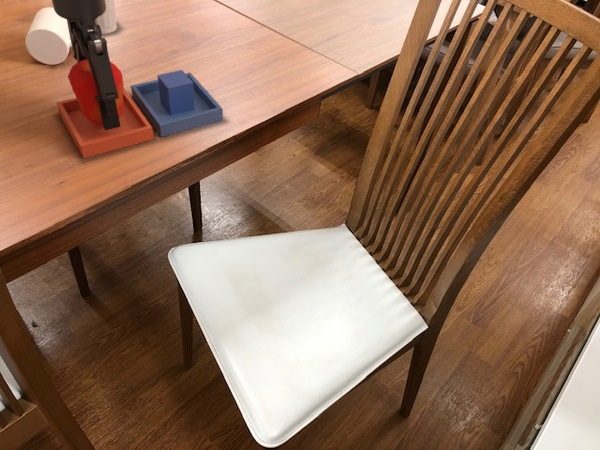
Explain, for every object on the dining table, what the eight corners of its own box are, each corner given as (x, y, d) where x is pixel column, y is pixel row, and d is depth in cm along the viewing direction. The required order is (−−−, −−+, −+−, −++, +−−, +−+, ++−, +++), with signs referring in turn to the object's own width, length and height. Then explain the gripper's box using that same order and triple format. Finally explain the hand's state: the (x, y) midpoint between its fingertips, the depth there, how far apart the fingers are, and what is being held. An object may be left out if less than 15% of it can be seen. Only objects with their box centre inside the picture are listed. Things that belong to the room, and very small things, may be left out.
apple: (138, 113, 94) (129, 54, 86) (110, 136, 89) (97, 76, 80) (99, 99, 96) (86, 40, 87) (69, 122, 90) (52, 61, 82)
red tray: (59, 114, 95) (56, 102, 93) (125, 98, 100) (123, 87, 98) (83, 158, 87) (80, 146, 85) (154, 139, 92) (152, 127, 91)
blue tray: (132, 97, 101) (130, 85, 99) (190, 83, 106) (190, 72, 105) (161, 137, 93) (159, 125, 91) (222, 120, 99) (222, 108, 97)
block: (160, 102, 100) (157, 75, 95) (184, 96, 102) (182, 69, 97) (170, 115, 97) (167, 88, 93) (194, 109, 99) (193, 82, 95)
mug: (31, 65, 105) (19, 28, 100) (40, 42, 112) (30, 6, 106) (92, 65, 108) (84, 29, 102) (97, 43, 114) (90, 7, 108)
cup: (91, 18, 122) (80, -35, 113) (124, 21, 122) (116, -31, 114) (80, 33, 117) (67, -21, 108) (114, 37, 117) (105, -17, 108)
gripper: (125, 10, 71) (145, 140, 87) (79, -43, 83) (104, 80, 99) (70, 19, 68) (102, 152, 84) (30, -38, 80) (64, 89, 96)
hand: (103, 113), depth 92 cm, fingers closed on apple, 9 cm apart
